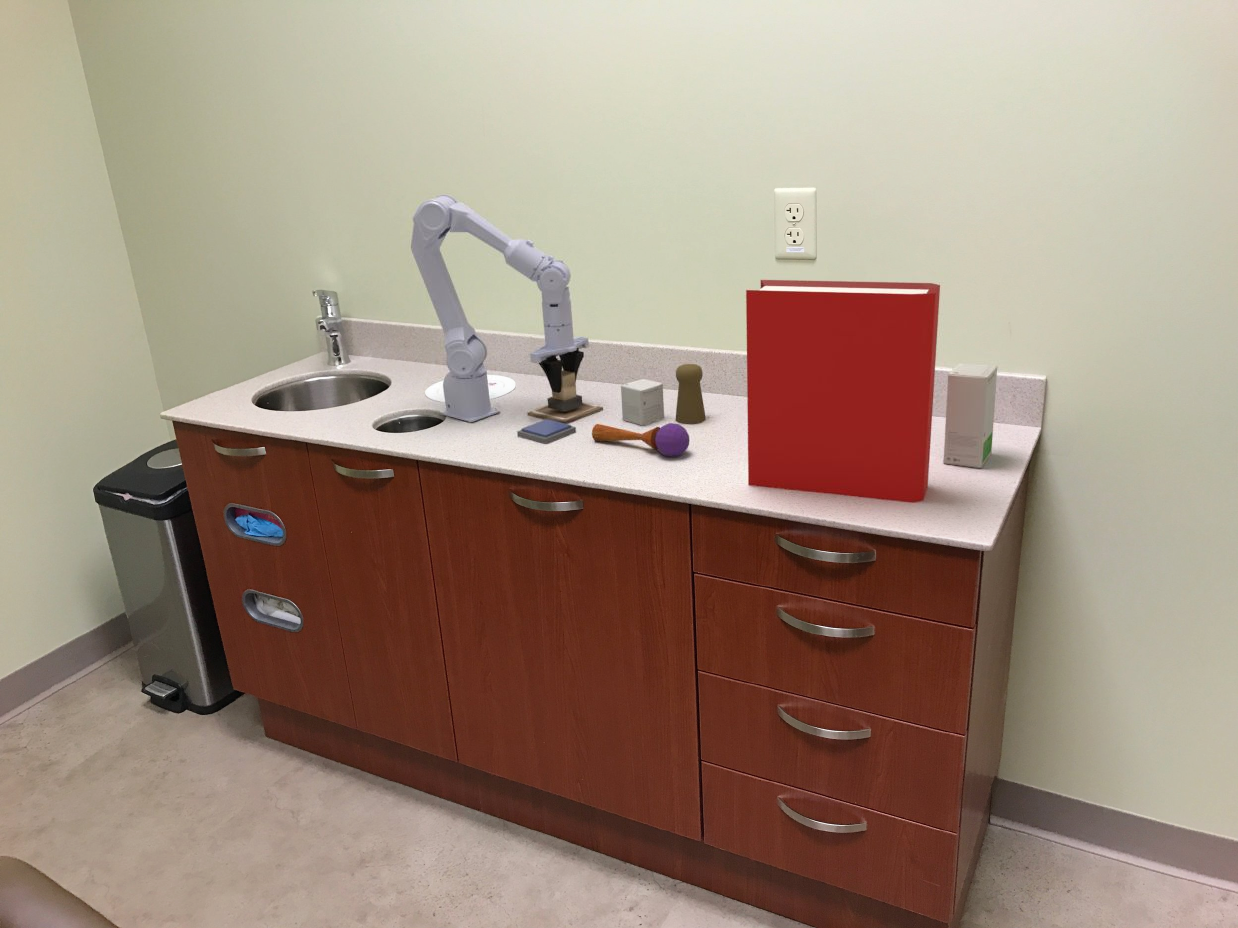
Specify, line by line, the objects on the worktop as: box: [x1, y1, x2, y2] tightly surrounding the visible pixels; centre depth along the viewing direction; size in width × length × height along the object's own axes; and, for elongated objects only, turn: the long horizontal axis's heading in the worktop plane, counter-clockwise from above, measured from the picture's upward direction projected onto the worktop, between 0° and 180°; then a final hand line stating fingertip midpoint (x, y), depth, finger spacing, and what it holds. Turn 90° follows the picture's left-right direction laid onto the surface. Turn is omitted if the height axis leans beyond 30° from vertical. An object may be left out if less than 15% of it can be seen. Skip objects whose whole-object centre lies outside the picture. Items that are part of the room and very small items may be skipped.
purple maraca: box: [591, 422, 690, 458], centre depth 175 cm, size 6×6×20 cm
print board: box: [526, 401, 604, 424], centre depth 198 cm, size 11×11×1 cm
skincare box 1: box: [620, 378, 665, 426], centre depth 190 cm, size 6×6×7 cm
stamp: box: [547, 369, 583, 412], centre depth 197 cm, size 5×5×7 cm
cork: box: [675, 363, 707, 425], centre depth 188 cm, size 6×6×11 cm
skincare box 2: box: [942, 362, 998, 469], centre depth 159 cm, size 8×7×16 cm
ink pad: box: [516, 419, 577, 445], centre depth 186 cm, size 8×8×2 cm
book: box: [745, 279, 941, 504], centre depth 149 cm, size 27×8×32 cm, turn 66°
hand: (563, 389), depth 197 cm, fingers closed on stamp, 3 cm apart
